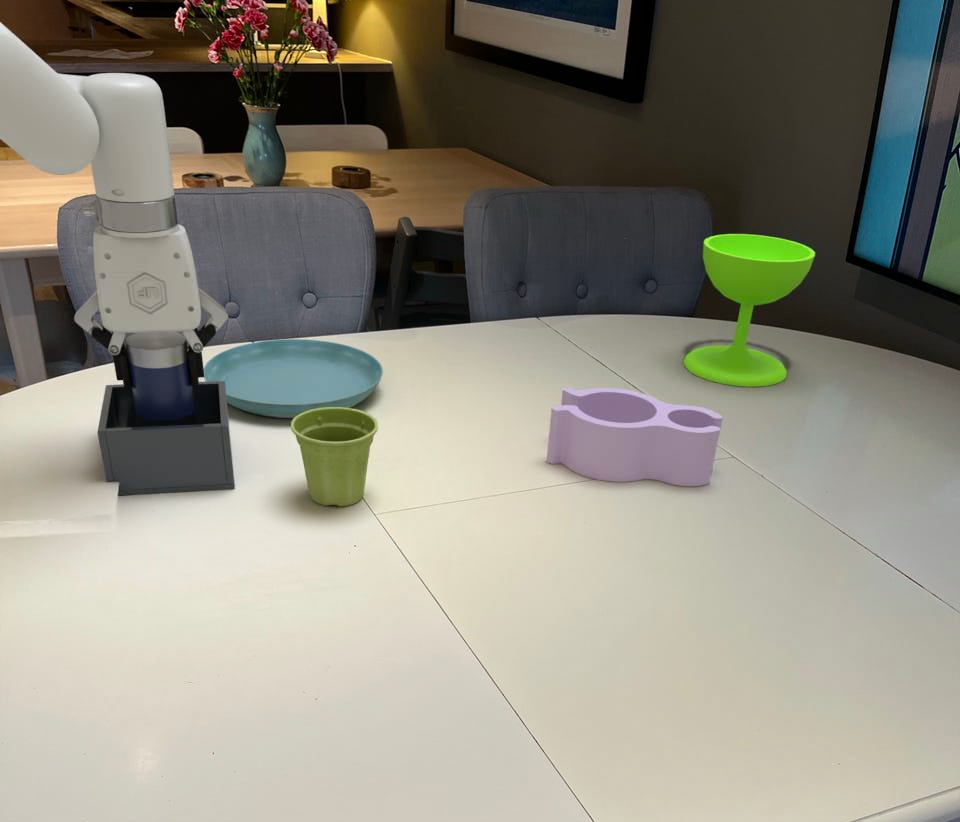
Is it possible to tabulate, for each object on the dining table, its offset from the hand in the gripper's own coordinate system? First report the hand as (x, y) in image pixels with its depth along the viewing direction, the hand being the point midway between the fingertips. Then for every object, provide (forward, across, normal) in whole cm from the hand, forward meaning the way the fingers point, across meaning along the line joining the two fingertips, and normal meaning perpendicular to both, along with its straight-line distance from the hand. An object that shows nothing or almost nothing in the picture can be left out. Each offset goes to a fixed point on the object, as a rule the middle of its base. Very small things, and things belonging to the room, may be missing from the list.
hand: (162, 383), depth 110 cm
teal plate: (+10, +16, +22) cm, 29 cm away
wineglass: (+10, +84, +25) cm, 88 cm away
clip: (+10, +55, -6) cm, 56 cm away
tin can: (+5, 0, 0) cm, 5 cm away
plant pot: (+10, +18, -10) cm, 23 cm away
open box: (+10, 0, 0) cm, 10 cm away
